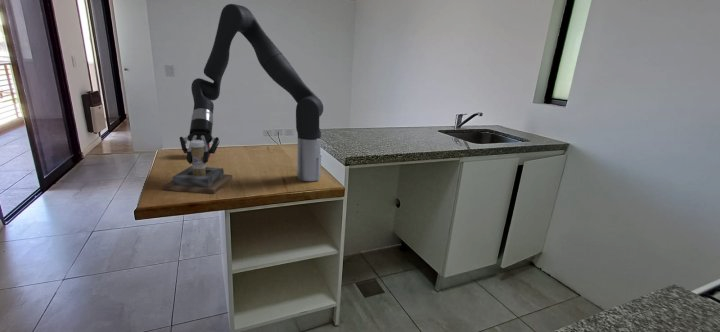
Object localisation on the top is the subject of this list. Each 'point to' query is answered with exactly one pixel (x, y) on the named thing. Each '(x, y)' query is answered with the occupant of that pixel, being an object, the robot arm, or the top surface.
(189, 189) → the socket board
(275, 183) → the top surface
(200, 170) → the sprinkles bottle
